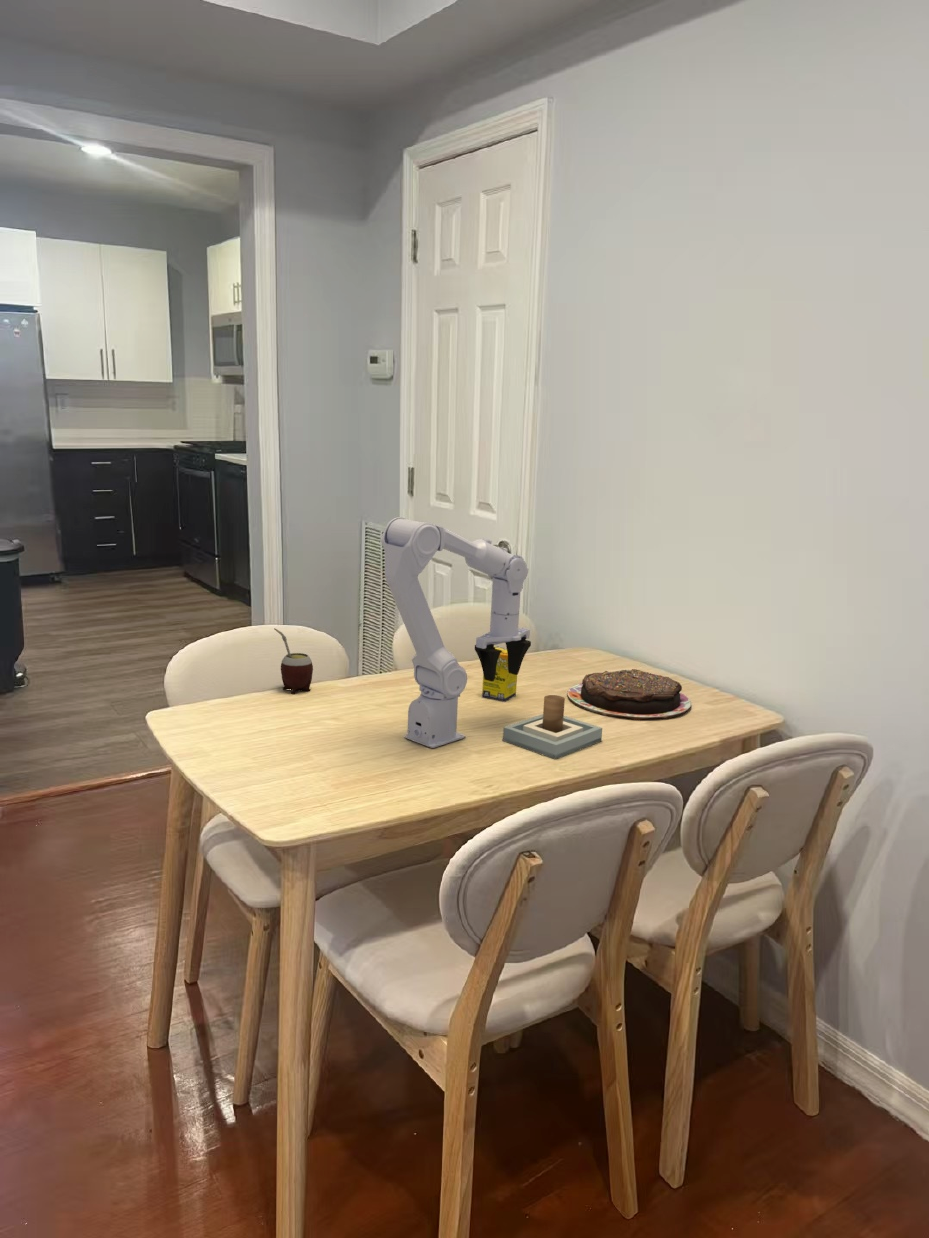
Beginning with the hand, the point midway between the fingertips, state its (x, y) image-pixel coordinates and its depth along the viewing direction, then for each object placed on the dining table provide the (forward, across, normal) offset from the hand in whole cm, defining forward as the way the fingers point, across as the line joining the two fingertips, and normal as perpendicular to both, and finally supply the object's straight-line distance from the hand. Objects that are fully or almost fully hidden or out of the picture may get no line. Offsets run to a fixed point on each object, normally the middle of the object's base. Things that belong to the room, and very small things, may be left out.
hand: (501, 676), depth 186 cm
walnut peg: (+9, 0, -14) cm, 17 cm away
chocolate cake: (+10, +35, -9) cm, 38 cm away
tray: (+10, 0, -14) cm, 17 cm away
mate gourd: (+10, -19, +44) cm, 49 cm away
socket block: (+10, 0, -14) cm, 17 cm away
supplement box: (+10, +14, +12) cm, 21 cm away
